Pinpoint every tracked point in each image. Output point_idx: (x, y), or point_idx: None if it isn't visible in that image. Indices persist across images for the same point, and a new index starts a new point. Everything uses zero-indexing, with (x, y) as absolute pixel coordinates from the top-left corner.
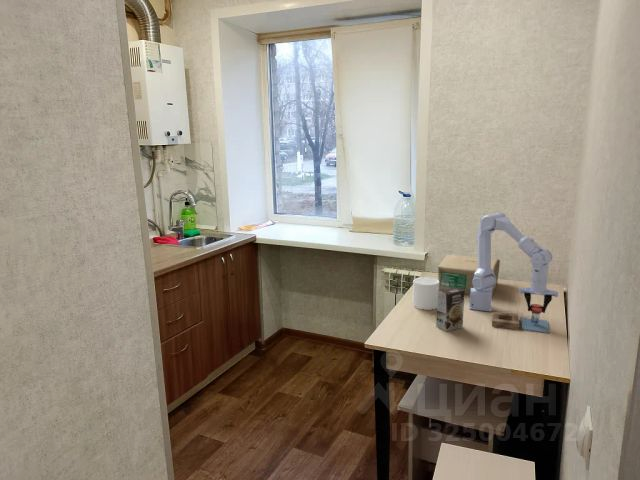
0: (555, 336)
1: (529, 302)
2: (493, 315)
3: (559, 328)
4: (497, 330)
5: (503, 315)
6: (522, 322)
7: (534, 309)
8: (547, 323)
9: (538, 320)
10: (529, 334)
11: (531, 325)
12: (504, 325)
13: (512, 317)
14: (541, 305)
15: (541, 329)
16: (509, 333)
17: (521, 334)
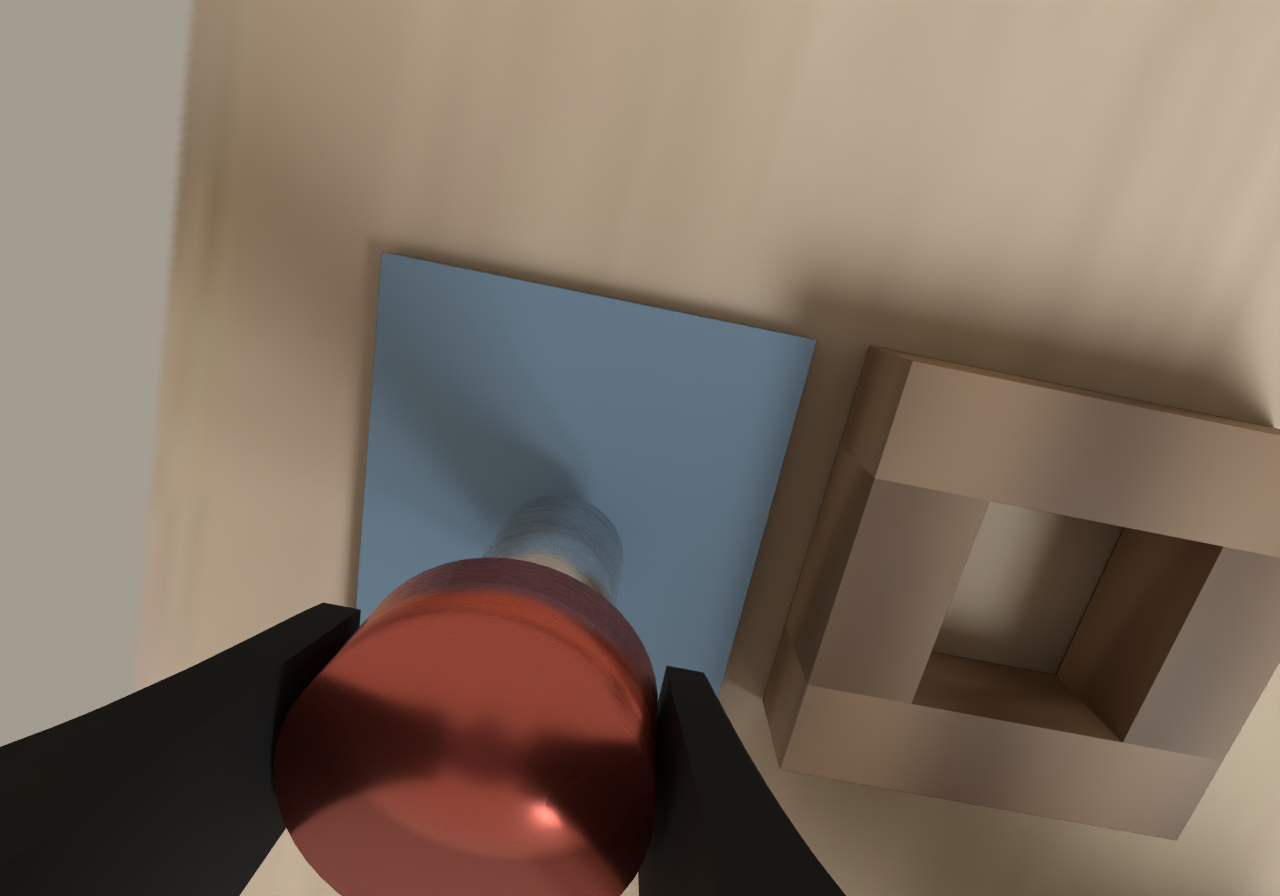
0: (313, 128)
1: (750, 889)
2: (1244, 693)
3: (211, 472)
4: (1255, 264)
5: (1040, 723)
6: (735, 594)
7: (573, 633)
8: (360, 596)
9: (500, 532)
10: (742, 156)
11: (623, 498)
12: (1118, 398)
13: (926, 643)
14: (313, 864)
15: (497, 354)
16: (1091, 152)
17: (886, 136)
